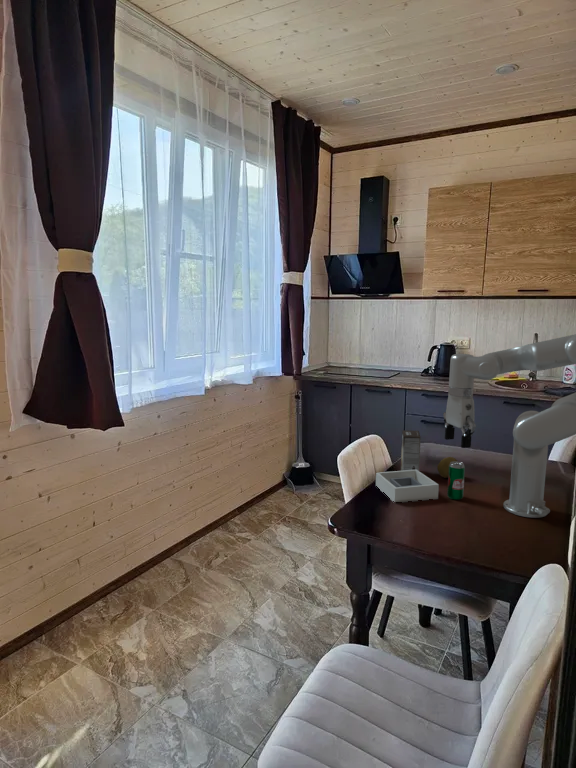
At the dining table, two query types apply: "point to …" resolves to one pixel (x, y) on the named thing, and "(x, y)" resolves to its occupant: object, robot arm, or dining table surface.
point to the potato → (445, 466)
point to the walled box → (407, 485)
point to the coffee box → (410, 450)
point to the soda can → (456, 480)
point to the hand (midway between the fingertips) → (457, 443)
